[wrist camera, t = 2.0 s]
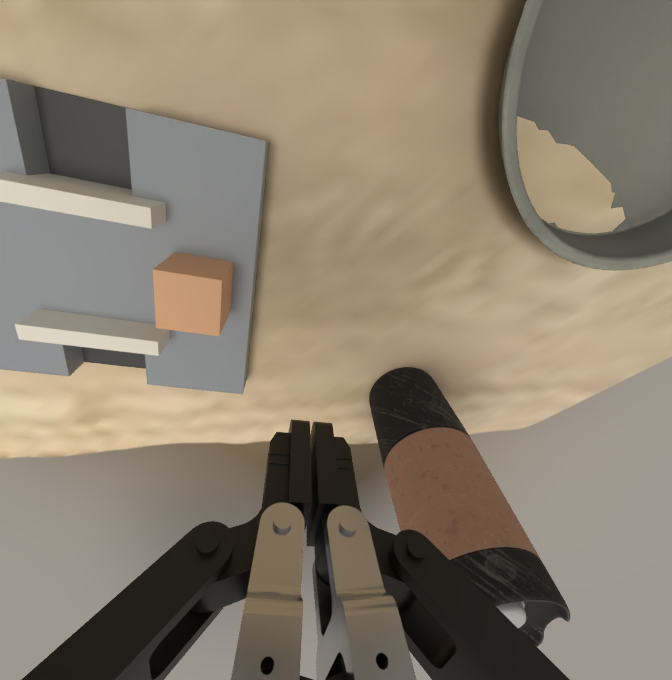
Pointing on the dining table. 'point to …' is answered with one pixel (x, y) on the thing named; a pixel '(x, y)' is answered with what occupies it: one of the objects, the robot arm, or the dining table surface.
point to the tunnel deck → (120, 236)
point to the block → (192, 293)
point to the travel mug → (458, 500)
